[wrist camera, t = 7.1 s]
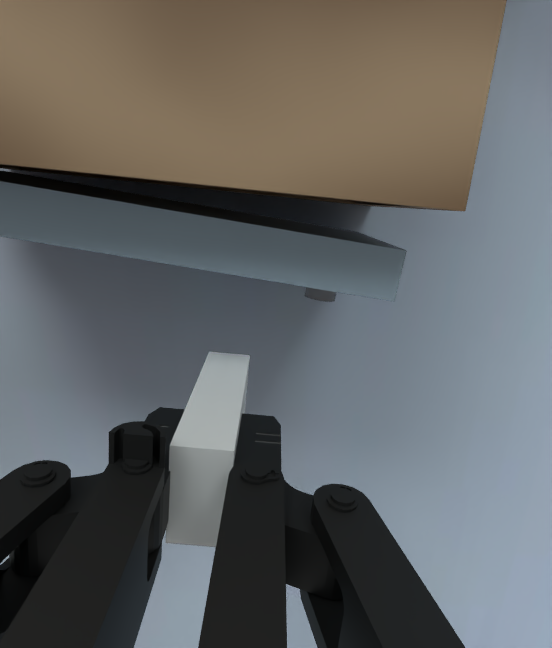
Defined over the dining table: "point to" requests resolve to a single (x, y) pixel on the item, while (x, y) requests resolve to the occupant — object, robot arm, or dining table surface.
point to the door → (199, 237)
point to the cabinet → (252, 94)
